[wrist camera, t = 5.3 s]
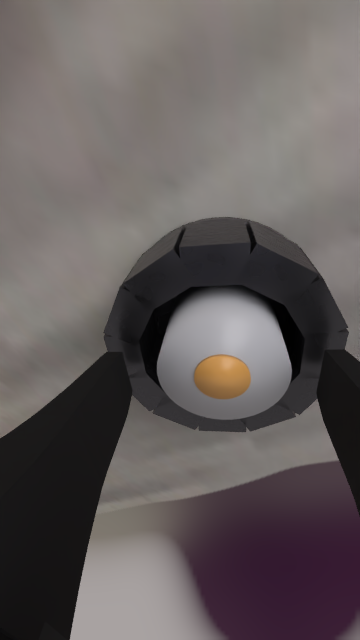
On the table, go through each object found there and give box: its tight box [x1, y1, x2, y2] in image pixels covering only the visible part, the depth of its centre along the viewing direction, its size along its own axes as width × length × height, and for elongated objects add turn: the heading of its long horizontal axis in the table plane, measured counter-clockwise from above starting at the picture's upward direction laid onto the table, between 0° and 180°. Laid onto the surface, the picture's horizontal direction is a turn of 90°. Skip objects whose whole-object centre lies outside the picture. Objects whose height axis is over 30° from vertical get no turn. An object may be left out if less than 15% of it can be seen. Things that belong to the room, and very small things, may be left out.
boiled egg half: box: [157, 285, 292, 420], centre depth 12 cm, size 5×5×4 cm
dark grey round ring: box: [104, 217, 349, 432], centre depth 13 cm, size 9×9×4 cm
